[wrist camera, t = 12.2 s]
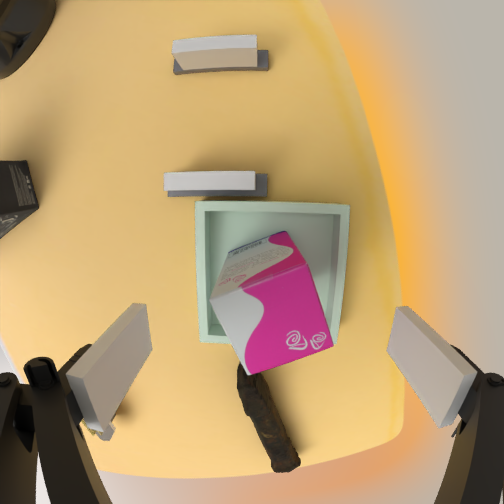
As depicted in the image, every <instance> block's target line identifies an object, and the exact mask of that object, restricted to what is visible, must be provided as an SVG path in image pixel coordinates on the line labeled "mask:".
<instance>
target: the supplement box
mask: <svg viewBox="0 0 504 504" xmlns="http://www.w3.org/2000/svg"><path fill="white" fill-rule="evenodd" d="M209 301H210V303H211V305H212V308H213V310H214V312H215V314H216V316H217V318H218V320H219V321H220V323H221V325H222V327H223V329H224V331H225V333H226V335H227V337H228V339H229V341H230V343H231V345H232V346H233V348H234V350H235V352H236V354H237V356H238V358H239V360H240V362H241V364H242V366H243V367H244V369H245V371H246V373H247V375H252V374H255V373H258V372H261V371H265V370H268V369H271V368H274V367H277V366H280V365H283V364H286V363H289V362H292V361H295V360H298V359H300V358H303V357H306V356H309V355H312V354H314V353H317V352H320V351H322V350H325V349H328V348H330V347H332V346H334V345H333V340H332V337H331V334H330V331H329V327H328V324H327V321H326V318H325V315H324V311H323V308H322V305H321V302H320V299H319V296H318V292H317V289H316V286H315V283H314V280H313V277H312V274H311V271H310V268H309V266H308V263H307V262H306V260H305V259H304V257H303V256H302V254H301V253H300V251H299V249H298V248H297V246H296V245H295V243H294V242H293V240H292V239H291V237H290V236H289V234H288V233H287V232H286V231H281V232H278V233H276V234H273V235H270V236H267V237H265V238H262V239H260V240H257V241H254V242H252V243H249V244H247V245H244V246H242V247H239V248H237V249H234V250H232V251H230V252H228V255H227V257H226V260H225V262H224V264H223V267H222V269H221V272H220V274H219V277H218V279H217V282H216V284H215V286H214V289H213V291H212V294H211V296H210V298H209Z"/></svg>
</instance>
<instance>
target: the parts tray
mask: <svg viewBox="0 0 504 504" xmlns="http://www.w3.org/2000/svg"><path fill="white" fill-rule="evenodd" d="M349 218H350V205H346V204H338V203H318V202H293V201H251V200H201V201H195V246H196V278H197V301H198V319H199V335H200V342H207V343H224V344H231V343H230V341H229V339H228V337H227V335H226V333H225V331H224V329H223V327H222V325H221V323H220V321H219V320H218V318H217V316H216V314H215V312H214V310H213V308H212V305H211V303H210V301H209V298H210V296H211V294H212V291H213V289H214V286H215V284H216V282H217V279H218V277H219V274H220V272H221V269H222V267H223V264H224V262H225V260H226V257H227V255H228V252H230V251H232V250H234V249H237V248H239V247H242V246H244V245H247V244H249V243H252V242H254V241H257V240H260V239H262V238H265V237H267V236H270V235H273V234H276V233H278V232H281V231H286V232H287V233H288V234H289V236H290V237H291V239H292V240H293V242H294V243H295V245H296V246H297V248H298V249H299V251H300V253H301V254H302V256H303V257H304V259H305V260H306V262H307V263H308V266H309V268H310V271H311V274H312V277H313V280H314V283H315V286H316V289H317V292H318V296H319V299H320V302H321V305H322V308H323V311H324V315H325V318H326V321H327V324H328V327H329V331H330V334H331V337H332V340H333V344H337V337H338V331H339V323H340V316H341V308H342V300H343V292H344V282H345V272H346V261H347V249H348V235H349Z"/></svg>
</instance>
